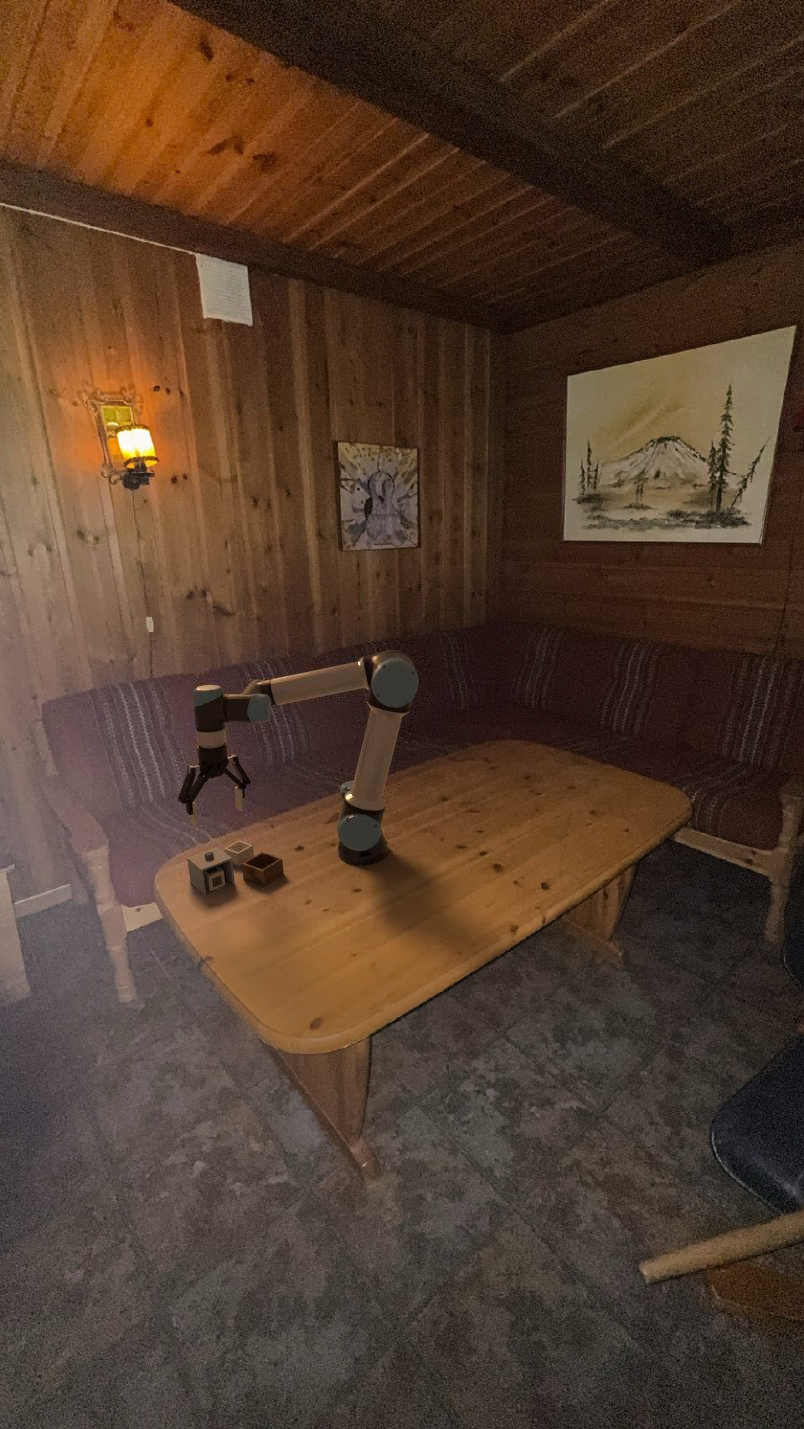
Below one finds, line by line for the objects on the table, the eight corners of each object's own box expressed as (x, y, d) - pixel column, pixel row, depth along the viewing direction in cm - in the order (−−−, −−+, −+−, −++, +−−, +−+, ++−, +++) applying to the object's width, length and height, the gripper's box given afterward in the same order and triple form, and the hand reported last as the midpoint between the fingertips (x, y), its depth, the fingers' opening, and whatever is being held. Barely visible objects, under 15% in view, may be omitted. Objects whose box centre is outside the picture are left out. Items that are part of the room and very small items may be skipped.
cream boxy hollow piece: (225, 885, 175) (223, 870, 173) (210, 891, 172) (208, 876, 170) (218, 878, 178) (216, 864, 177) (203, 884, 175) (201, 870, 174)
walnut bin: (283, 874, 179) (282, 858, 178) (263, 887, 173) (262, 871, 172) (263, 866, 184) (262, 851, 182) (243, 879, 177) (241, 863, 176)
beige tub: (254, 858, 188) (253, 845, 187) (239, 867, 184) (237, 853, 182) (240, 853, 192) (239, 840, 190) (225, 862, 187) (223, 848, 186)
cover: (234, 883, 175) (231, 854, 173) (204, 895, 170) (200, 865, 167) (220, 871, 182) (216, 842, 179) (190, 882, 176) (186, 853, 174)
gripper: (246, 730, 176) (250, 799, 182) (159, 750, 159) (167, 826, 165) (260, 736, 171) (264, 807, 177) (172, 758, 154) (180, 835, 160)
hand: (217, 816), depth 171 cm, fingers open, 13 cm apart
